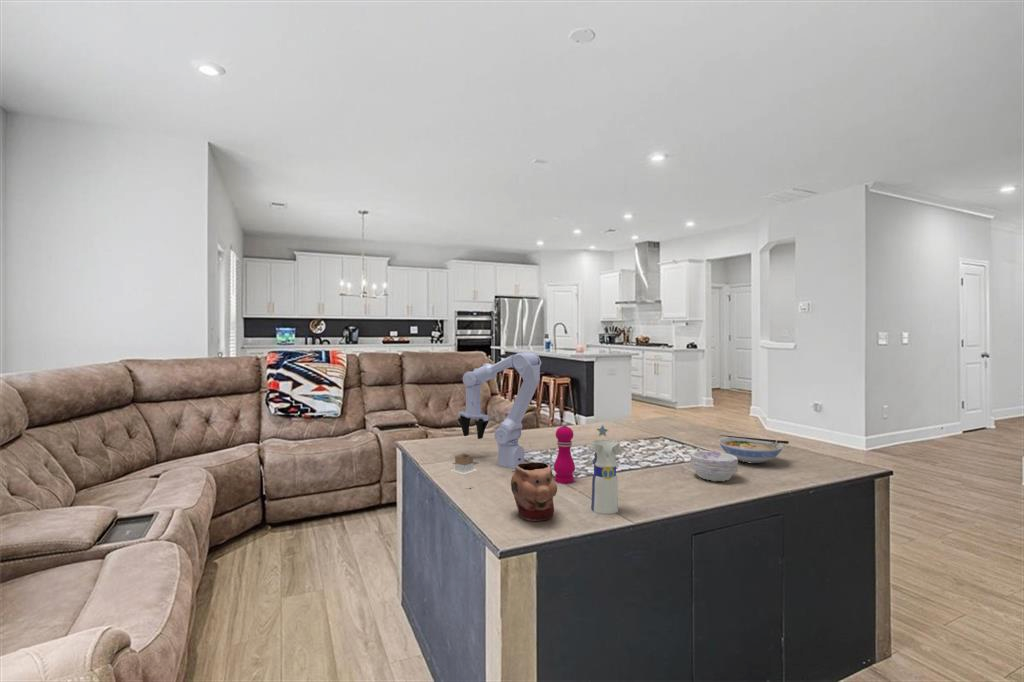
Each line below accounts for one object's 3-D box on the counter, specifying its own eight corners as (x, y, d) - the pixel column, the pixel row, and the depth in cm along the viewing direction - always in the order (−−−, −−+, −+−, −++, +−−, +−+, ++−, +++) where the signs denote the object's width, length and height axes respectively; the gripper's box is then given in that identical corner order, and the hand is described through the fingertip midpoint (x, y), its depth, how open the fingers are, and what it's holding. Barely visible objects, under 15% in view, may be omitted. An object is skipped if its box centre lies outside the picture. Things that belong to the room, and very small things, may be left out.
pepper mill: (576, 478, 172) (577, 420, 172) (572, 484, 165) (572, 424, 165) (556, 476, 175) (556, 419, 174) (551, 482, 168) (551, 423, 167)
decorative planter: (499, 504, 147) (499, 457, 146) (537, 499, 151) (537, 453, 151) (527, 530, 128) (527, 476, 128) (569, 523, 133) (569, 471, 132)
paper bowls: (718, 470, 183) (718, 448, 183) (747, 483, 168) (747, 459, 168) (681, 473, 179) (681, 451, 179) (707, 486, 164) (708, 462, 164)
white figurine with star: (624, 514, 139) (625, 425, 139) (594, 515, 139) (594, 425, 138) (616, 503, 148) (616, 419, 147) (587, 504, 147) (588, 419, 146)
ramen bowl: (709, 463, 193) (709, 441, 193) (722, 451, 212) (722, 431, 211) (782, 474, 178) (782, 451, 178) (789, 460, 197) (789, 439, 197)
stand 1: (479, 466, 188) (479, 462, 188) (465, 470, 182) (465, 466, 182) (465, 462, 192) (465, 459, 192) (452, 466, 187) (452, 463, 187)
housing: (473, 469, 178) (473, 456, 178) (464, 472, 175) (464, 458, 175) (464, 467, 181) (464, 453, 181) (455, 470, 178) (455, 456, 177)
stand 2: (477, 473, 178) (477, 469, 178) (464, 477, 173) (464, 474, 173) (464, 469, 183) (464, 466, 183) (450, 473, 177) (450, 470, 177)
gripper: (452, 401, 195) (452, 436, 196) (479, 405, 186) (479, 441, 187) (465, 399, 201) (465, 433, 201) (492, 403, 192) (492, 438, 192)
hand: (473, 437), depth 194 cm, fingers open, 7 cm apart
